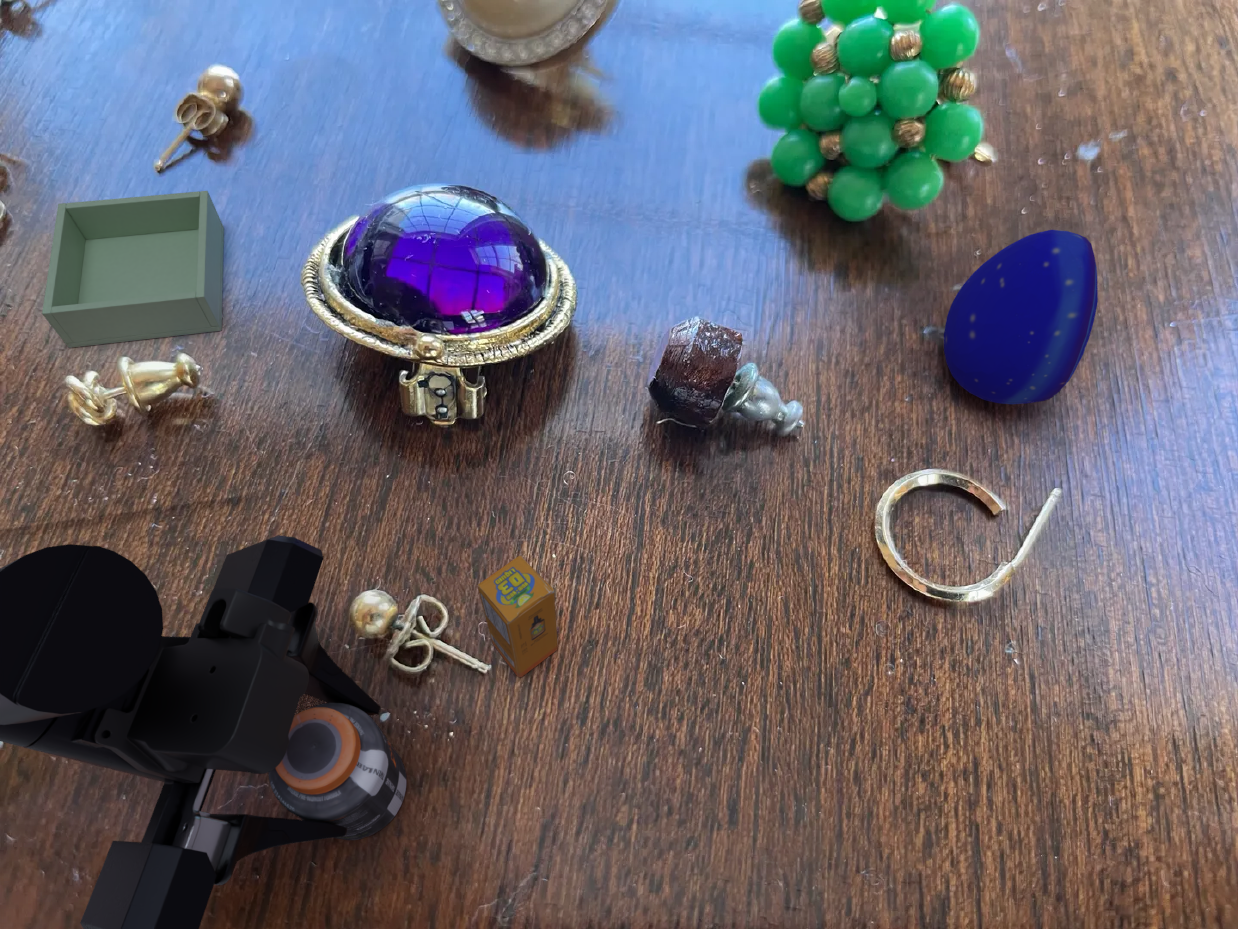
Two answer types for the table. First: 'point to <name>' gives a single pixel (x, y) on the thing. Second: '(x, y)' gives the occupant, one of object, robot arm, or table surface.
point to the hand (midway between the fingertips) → (359, 770)
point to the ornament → (1024, 319)
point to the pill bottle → (340, 771)
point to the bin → (135, 269)
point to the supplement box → (520, 615)
